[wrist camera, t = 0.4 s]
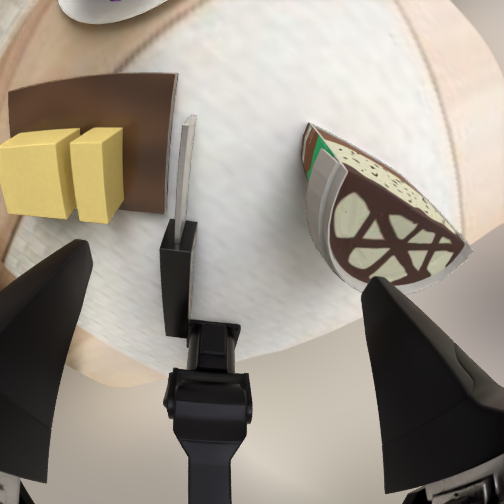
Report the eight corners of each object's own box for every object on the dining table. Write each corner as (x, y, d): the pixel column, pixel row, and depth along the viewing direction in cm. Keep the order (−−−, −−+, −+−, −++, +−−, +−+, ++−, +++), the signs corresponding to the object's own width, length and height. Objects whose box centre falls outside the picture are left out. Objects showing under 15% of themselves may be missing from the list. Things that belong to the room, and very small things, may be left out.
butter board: (166, 208, 21) (164, 214, 21) (26, 196, 19) (21, 201, 18) (178, 73, 15) (175, 73, 14) (15, 89, 12) (8, 92, 11)
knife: (191, 309, 30) (187, 338, 27) (171, 306, 30) (165, 335, 27) (210, 116, 17) (203, 130, 14) (177, 113, 17) (162, 126, 13)
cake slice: (255, 184, 21) (267, 277, 13) (290, 113, 17) (335, 165, 9) (374, 231, 24) (420, 314, 16) (410, 180, 20) (477, 253, 13)
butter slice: (124, 199, 20) (108, 224, 17) (97, 197, 19) (79, 221, 16) (123, 127, 16) (101, 142, 13) (93, 127, 15) (69, 142, 13)
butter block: (85, 196, 19) (66, 220, 16) (28, 193, 18) (8, 214, 15) (80, 127, 15) (55, 143, 13) (19, 132, 14) (-7, 148, 11)
